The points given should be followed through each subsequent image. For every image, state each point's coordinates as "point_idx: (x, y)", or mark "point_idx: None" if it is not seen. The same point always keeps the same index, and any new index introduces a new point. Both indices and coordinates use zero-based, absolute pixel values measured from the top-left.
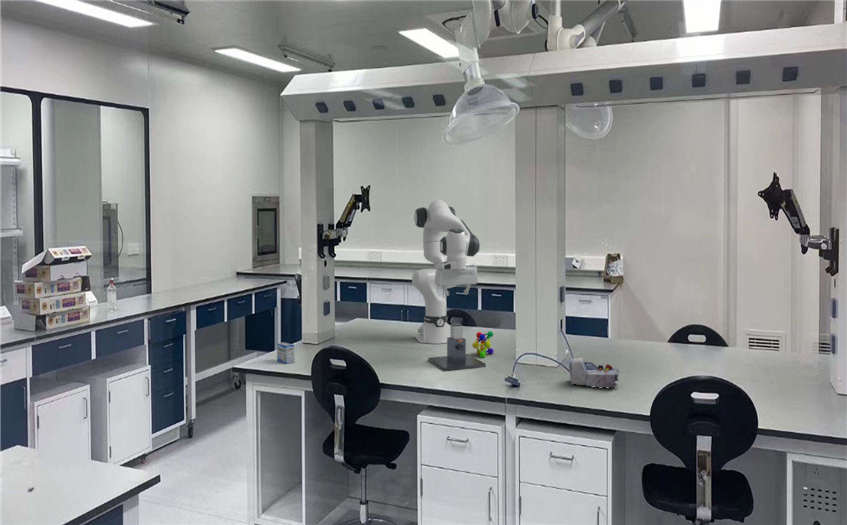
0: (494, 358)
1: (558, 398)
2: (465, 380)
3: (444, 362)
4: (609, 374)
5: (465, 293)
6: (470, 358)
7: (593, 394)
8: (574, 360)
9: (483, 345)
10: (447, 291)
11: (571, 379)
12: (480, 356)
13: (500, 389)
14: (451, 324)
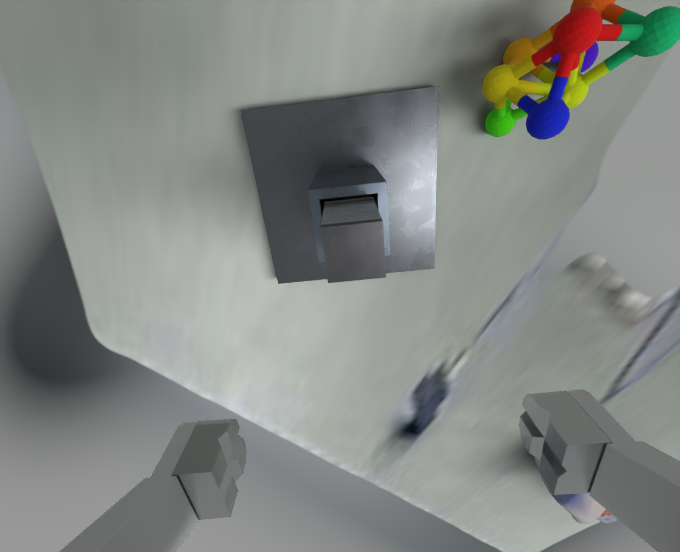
0: (532, 150)
1: (448, 499)
2: (313, 371)
3: (294, 211)
4: (601, 521)
5: (529, 449)
6: (416, 177)
7: (525, 497)
8: (581, 507)
9: (539, 94)
10: (191, 530)
11: (538, 467)
12: (485, 126)
13: (368, 441)
14: (322, 240)
